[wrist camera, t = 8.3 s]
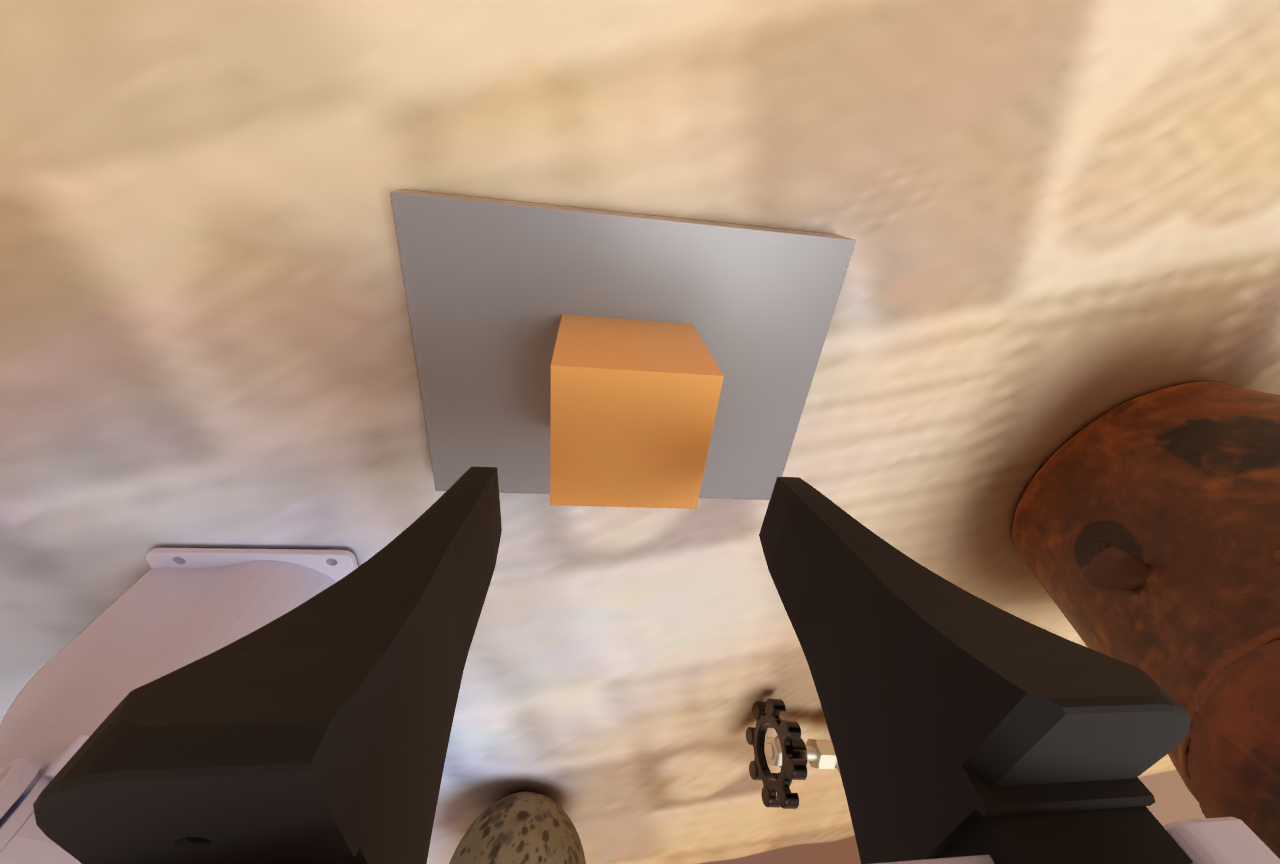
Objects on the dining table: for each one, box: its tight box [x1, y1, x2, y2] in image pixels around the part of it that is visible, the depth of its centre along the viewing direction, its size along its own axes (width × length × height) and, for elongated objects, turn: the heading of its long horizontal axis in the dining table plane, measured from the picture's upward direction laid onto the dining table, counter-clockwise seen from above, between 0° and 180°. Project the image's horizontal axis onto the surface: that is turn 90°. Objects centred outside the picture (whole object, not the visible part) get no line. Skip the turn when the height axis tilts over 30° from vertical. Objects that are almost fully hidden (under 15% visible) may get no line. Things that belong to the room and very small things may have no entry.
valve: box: [746, 698, 840, 809], centre depth 33 cm, size 7×7×12 cm
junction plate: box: [390, 190, 856, 500], centre depth 18 cm, size 16×12×5 cm
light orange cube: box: [550, 314, 724, 509], centre depth 16 cm, size 5×5×5 cm
